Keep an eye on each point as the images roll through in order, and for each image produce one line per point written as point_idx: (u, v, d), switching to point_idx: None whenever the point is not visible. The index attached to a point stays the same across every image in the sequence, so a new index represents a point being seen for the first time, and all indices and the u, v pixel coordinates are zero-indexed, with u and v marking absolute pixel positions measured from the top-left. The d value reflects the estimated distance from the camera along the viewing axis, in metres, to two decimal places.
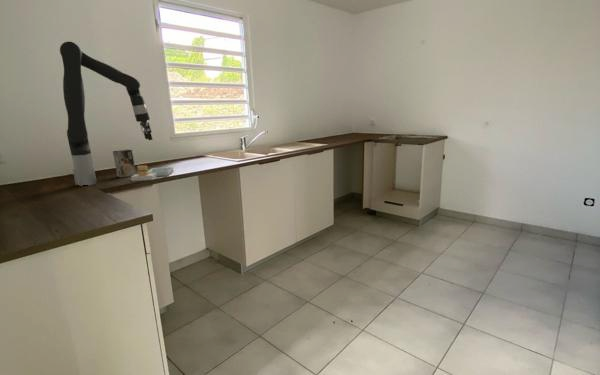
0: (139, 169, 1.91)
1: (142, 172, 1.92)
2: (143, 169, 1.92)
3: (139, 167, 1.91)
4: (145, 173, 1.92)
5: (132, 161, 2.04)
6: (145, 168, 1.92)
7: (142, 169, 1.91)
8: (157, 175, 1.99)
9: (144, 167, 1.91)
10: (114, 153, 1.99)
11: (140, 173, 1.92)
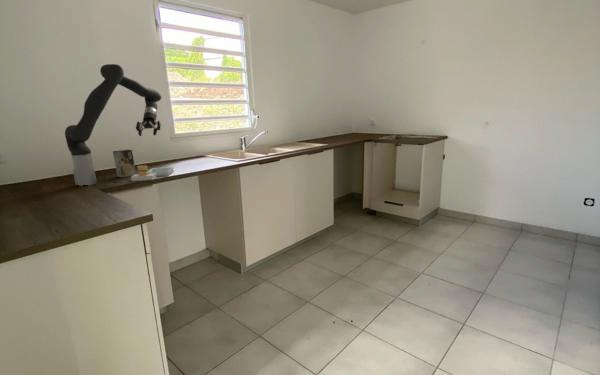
0: (139, 169, 1.91)
1: (142, 172, 1.92)
2: (143, 169, 1.92)
3: (139, 167, 1.91)
4: (145, 173, 1.92)
5: (132, 161, 2.04)
6: (145, 168, 1.92)
7: (142, 169, 1.91)
8: (157, 175, 1.99)
9: (144, 167, 1.91)
10: (114, 153, 1.99)
11: (140, 173, 1.92)
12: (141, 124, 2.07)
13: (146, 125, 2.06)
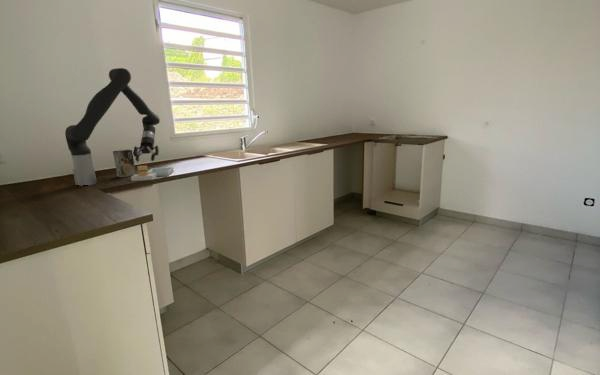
0: (139, 169, 1.91)
1: (142, 172, 1.92)
2: (143, 169, 1.92)
3: (139, 167, 1.91)
4: (145, 173, 1.92)
5: (132, 161, 2.04)
6: (145, 168, 1.92)
7: (142, 169, 1.91)
8: (157, 175, 1.99)
9: (144, 167, 1.91)
10: (114, 153, 1.99)
11: (140, 173, 1.92)
12: (138, 149, 2.01)
13: (144, 150, 1.99)
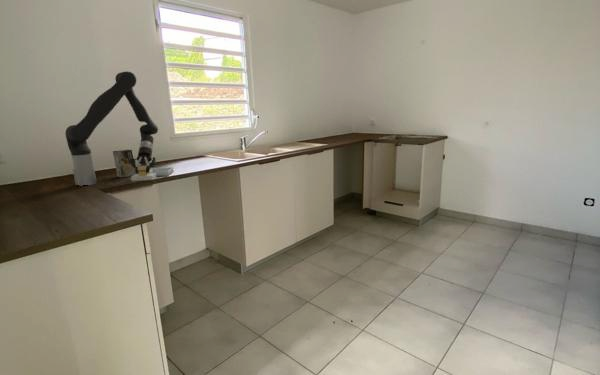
0: (139, 169, 1.91)
1: (142, 172, 1.92)
2: (143, 169, 1.92)
3: (139, 167, 1.91)
4: (145, 173, 1.92)
5: None
6: (145, 168, 1.92)
7: (142, 169, 1.91)
8: (157, 175, 1.99)
9: (144, 167, 1.91)
10: (114, 153, 1.99)
11: (140, 173, 1.92)
12: (136, 160, 1.95)
13: (142, 160, 1.94)
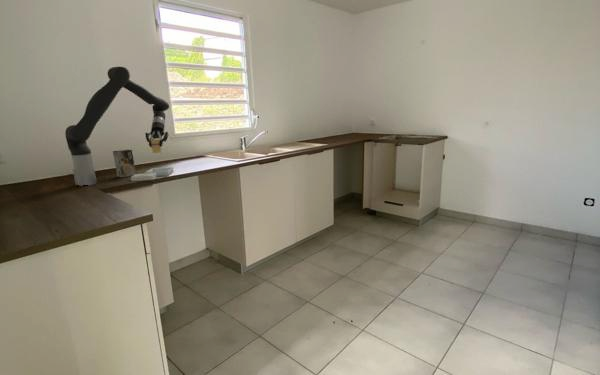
0: (152, 143, 2.00)
1: (155, 146, 2.01)
2: (156, 143, 2.00)
3: (152, 141, 2.00)
4: (158, 146, 2.01)
5: (132, 161, 2.04)
6: (158, 142, 2.00)
7: (155, 143, 2.00)
8: (157, 175, 1.99)
9: (157, 141, 2.00)
10: (114, 153, 1.99)
11: (153, 146, 2.01)
12: (149, 134, 2.04)
13: (155, 135, 2.03)
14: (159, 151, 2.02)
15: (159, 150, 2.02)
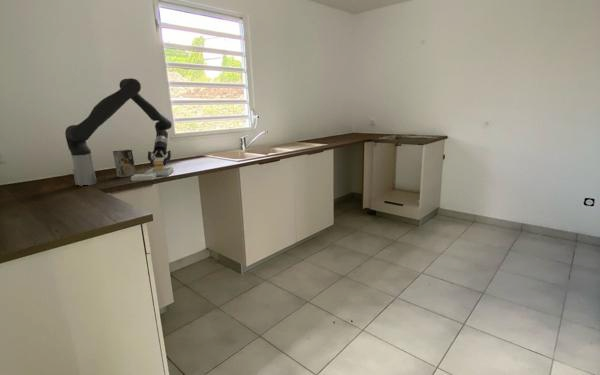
0: (155, 164, 2.03)
1: (158, 167, 2.04)
2: (159, 164, 2.04)
3: (155, 162, 2.03)
4: (161, 167, 2.04)
5: (132, 161, 2.04)
6: (161, 163, 2.04)
7: (158, 164, 2.04)
8: (157, 175, 1.99)
9: (160, 162, 2.03)
10: (114, 153, 1.99)
11: (156, 167, 2.04)
12: (152, 153, 2.07)
13: (157, 154, 2.06)
14: None
15: None
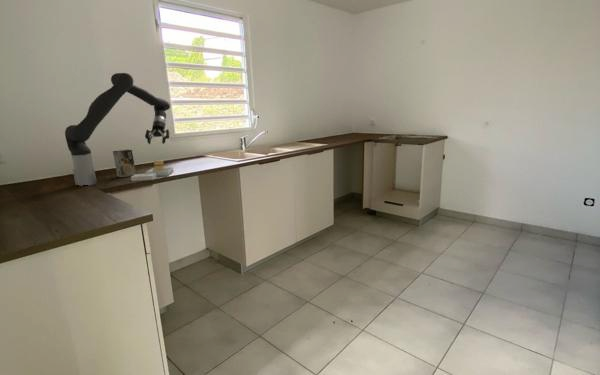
0: (155, 164, 2.03)
1: (158, 167, 2.04)
2: (159, 164, 2.04)
3: (155, 162, 2.03)
4: (161, 167, 2.04)
5: (132, 161, 2.04)
6: (161, 163, 2.04)
7: (158, 164, 2.04)
8: (157, 175, 1.99)
9: (160, 162, 2.03)
10: (114, 153, 1.99)
11: (156, 167, 2.04)
12: (150, 132, 2.11)
13: (155, 133, 2.09)
14: None
15: None
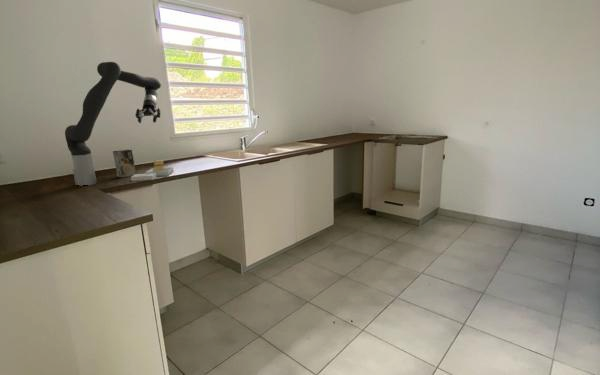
0: (155, 164, 2.03)
1: (158, 167, 2.04)
2: (159, 164, 2.04)
3: (155, 162, 2.03)
4: (161, 167, 2.04)
5: (132, 161, 2.04)
6: (161, 163, 2.04)
7: (158, 164, 2.04)
8: (157, 175, 1.99)
9: (160, 162, 2.03)
10: (114, 153, 1.99)
11: (156, 167, 2.04)
12: (141, 111, 2.06)
13: (146, 112, 2.04)
14: None
15: None
